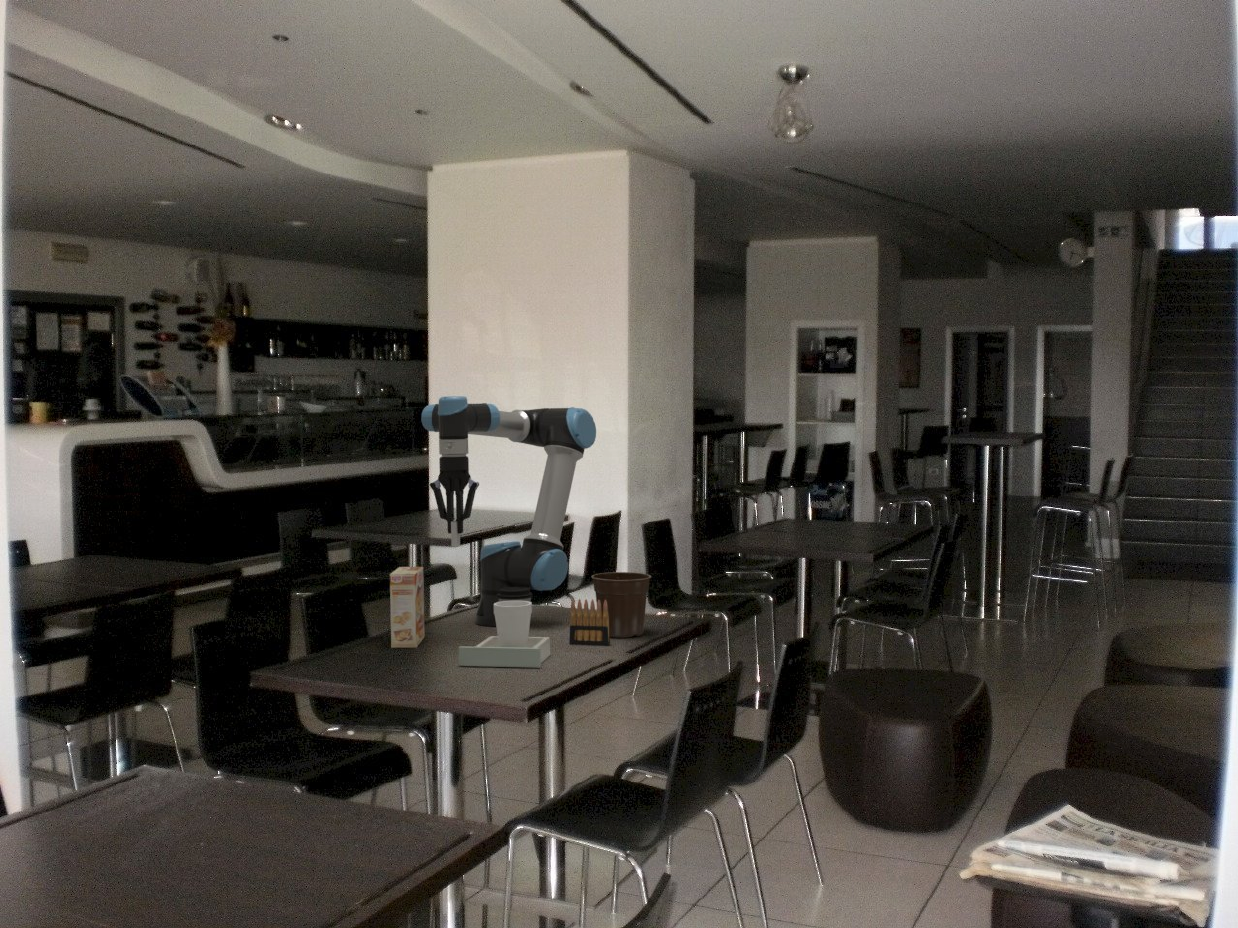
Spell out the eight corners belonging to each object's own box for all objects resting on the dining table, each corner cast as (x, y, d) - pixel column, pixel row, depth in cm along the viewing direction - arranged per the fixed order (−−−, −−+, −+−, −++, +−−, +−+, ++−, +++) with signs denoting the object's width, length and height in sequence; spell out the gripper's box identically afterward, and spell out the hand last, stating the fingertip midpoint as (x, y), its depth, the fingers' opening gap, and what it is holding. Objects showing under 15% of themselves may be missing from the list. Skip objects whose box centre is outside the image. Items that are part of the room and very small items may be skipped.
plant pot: (649, 628, 346) (649, 570, 345) (654, 639, 330) (653, 579, 329) (591, 629, 345) (590, 572, 344) (593, 640, 329) (592, 580, 328)
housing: (491, 653, 314) (490, 636, 313) (550, 654, 311) (549, 637, 311) (474, 665, 300) (474, 647, 299) (536, 666, 297) (536, 648, 297)
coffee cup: (536, 642, 327) (535, 586, 326) (530, 649, 318) (529, 591, 317) (501, 642, 328) (500, 586, 327) (494, 649, 319) (493, 591, 318)
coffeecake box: (417, 647, 323) (415, 573, 322) (390, 648, 323) (388, 573, 322) (425, 636, 338) (424, 565, 337) (399, 637, 338) (398, 566, 337)
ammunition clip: (610, 644, 323) (609, 599, 323) (608, 646, 321) (608, 600, 321) (571, 643, 326) (570, 598, 325) (569, 644, 324) (568, 599, 324)
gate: (460, 664, 300) (460, 646, 300) (540, 666, 296) (540, 647, 296) (459, 665, 299) (458, 647, 298) (539, 667, 295) (539, 648, 295)
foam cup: (498, 660, 299) (496, 607, 298) (491, 653, 308) (490, 601, 307) (536, 658, 301) (535, 605, 301) (528, 651, 310) (527, 599, 310)
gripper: (425, 456, 319) (427, 547, 320) (473, 456, 316) (475, 547, 318) (434, 455, 326) (436, 544, 327) (482, 454, 324) (484, 544, 325)
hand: (455, 545), depth 322 cm, fingers closed
